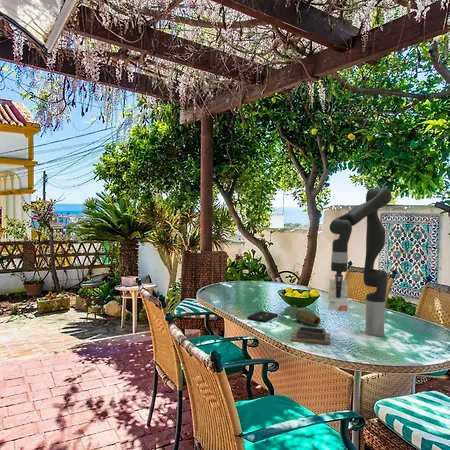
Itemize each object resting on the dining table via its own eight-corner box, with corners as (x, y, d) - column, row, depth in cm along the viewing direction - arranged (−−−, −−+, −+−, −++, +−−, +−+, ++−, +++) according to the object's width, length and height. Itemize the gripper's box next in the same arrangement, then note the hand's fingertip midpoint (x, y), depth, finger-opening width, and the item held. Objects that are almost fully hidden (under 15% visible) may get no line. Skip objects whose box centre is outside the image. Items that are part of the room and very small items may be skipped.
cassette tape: (260, 314, 239) (260, 310, 239) (278, 316, 233) (278, 313, 233) (246, 320, 224) (247, 316, 224) (265, 323, 218) (265, 319, 218)
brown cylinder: (293, 321, 222) (293, 309, 222) (301, 319, 226) (301, 308, 226) (313, 327, 210) (314, 315, 210) (322, 326, 214) (322, 313, 214)
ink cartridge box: (347, 309, 188) (348, 279, 188) (346, 311, 184) (347, 280, 183) (329, 307, 191) (330, 277, 191) (328, 309, 187) (329, 279, 186)
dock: (294, 331, 202) (294, 324, 201) (330, 335, 197) (330, 327, 197) (290, 341, 186) (291, 332, 186) (329, 345, 181) (330, 336, 181)
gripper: (331, 259, 195) (330, 293, 195) (331, 262, 181) (330, 298, 181) (346, 260, 193) (345, 294, 193) (348, 263, 179) (346, 300, 179)
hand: (338, 296), depth 187 cm, fingers closed on ink cartridge box, 5 cm apart
